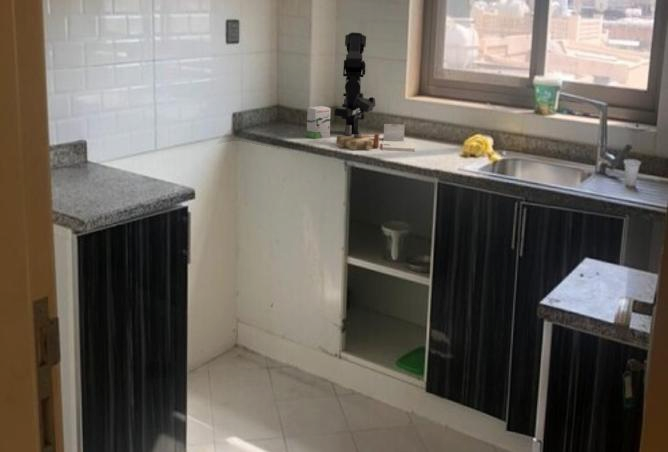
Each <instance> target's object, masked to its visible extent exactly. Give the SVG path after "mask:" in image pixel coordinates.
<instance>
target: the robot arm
mask: <svg viewBox="0 0 668 452" xmlns="http://www.w3.org/2000/svg"><path fill="white" fill-rule="evenodd" d="M344 37H345V39H344V40H345V41H344V47H346V52H347V53H346V56H345V59H344V60H343V68H342V69H343V72H342V73H343V74H342V76H343V77H345V84H344V90H345V92H344V93H343V95H342V96H343V97H345V98H344V99H343V100H344V102H343V103H342V106H339V107H336V108H335V109H334V110H333V116H334V117H335V116H336V117H341V120H344V126H345V125H352V132H351V134H361V133H360V130H359V129H360V127H359V126H360V120H364V119H365V113H369V112H372V111H373V110H374V107H376V106H377V105H376V98H375V97H372V96H371V97H369V98H365V97H364V93H363V92H362V91H361V83H362V80H361V79H362V78H364V76H366V67H367V65H366V62H365V60H363V53H364V51H365V48H366V46H367V36H366V35H364V34H362V33H361V32H354V31H353V32H352V31H351V32H349V34H345V36H344ZM342 134H343V135H344V134H345V129H343V133H342Z"/></svg>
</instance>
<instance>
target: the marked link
mask: <svg viewBox="0 0 668 452" xmlns="http://www.w3.org/2000/svg"><path fill="white" fill-rule="evenodd" d="M404 140H405V124H398V123H384V124H383V139H382V141H385V142H404Z"/></svg>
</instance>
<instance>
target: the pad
mask: <svg viewBox="0 0 668 452" xmlns="http://www.w3.org/2000/svg"><path fill="white" fill-rule="evenodd" d="M381 146H382V150H383V151H399V152H401V151H402V152H415V150H416V149H415V143H414V142H404V141H385V140H382V145H381Z"/></svg>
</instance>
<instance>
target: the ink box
mask: <svg viewBox="0 0 668 452" xmlns="http://www.w3.org/2000/svg"><path fill="white" fill-rule="evenodd" d="M306 115H307V116H306V138H310V139H314V140H315V139H323V138H330V136H331V135H330V134H331V133H330V132H331V107H328V106H324V105H319V106H308V107H307V114H306Z"/></svg>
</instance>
